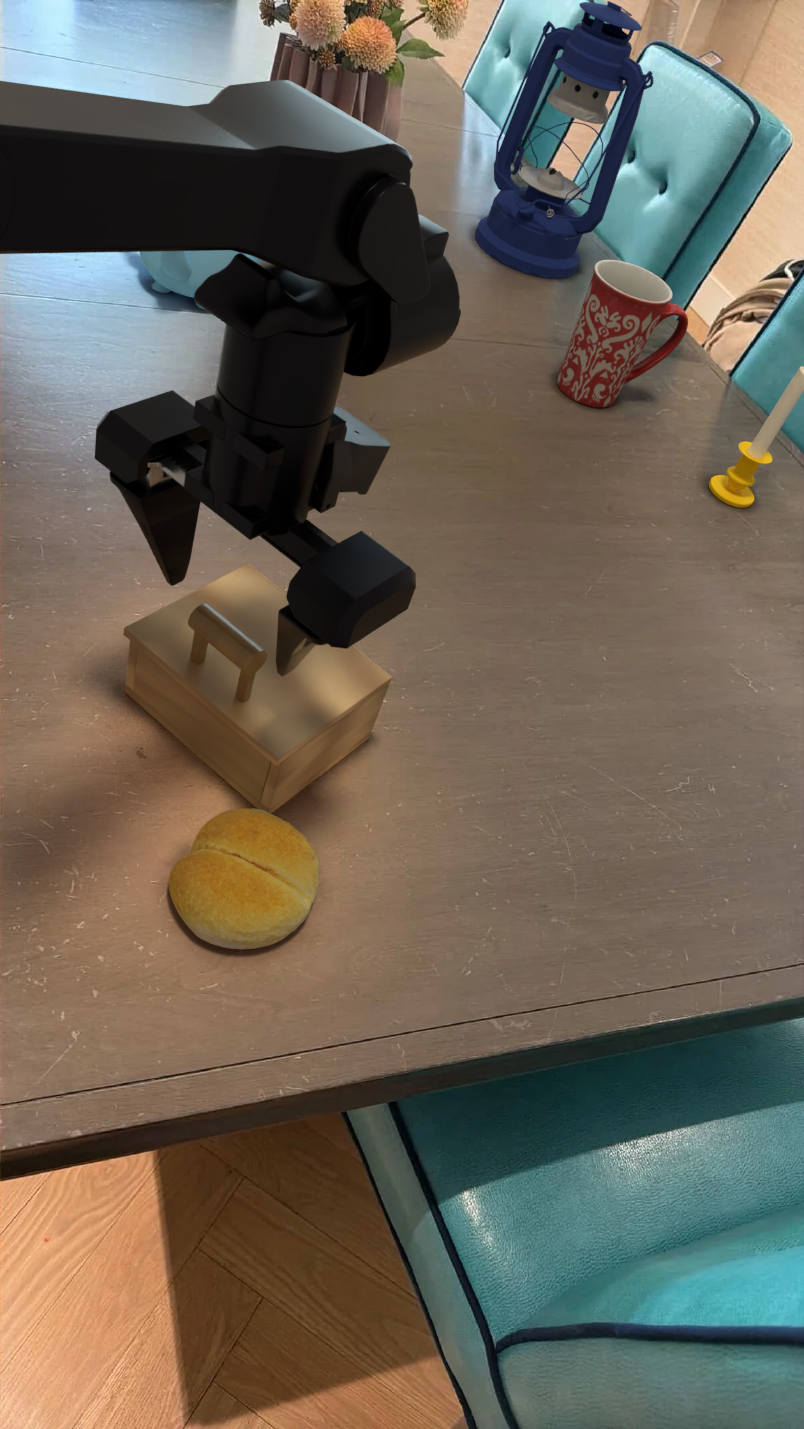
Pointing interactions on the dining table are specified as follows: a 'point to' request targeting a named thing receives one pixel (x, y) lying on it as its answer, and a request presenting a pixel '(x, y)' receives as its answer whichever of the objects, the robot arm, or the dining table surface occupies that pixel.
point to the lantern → (537, 218)
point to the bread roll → (245, 880)
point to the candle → (756, 451)
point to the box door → (254, 664)
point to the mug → (616, 332)
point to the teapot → (186, 268)
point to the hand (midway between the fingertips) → (229, 625)
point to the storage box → (230, 749)
